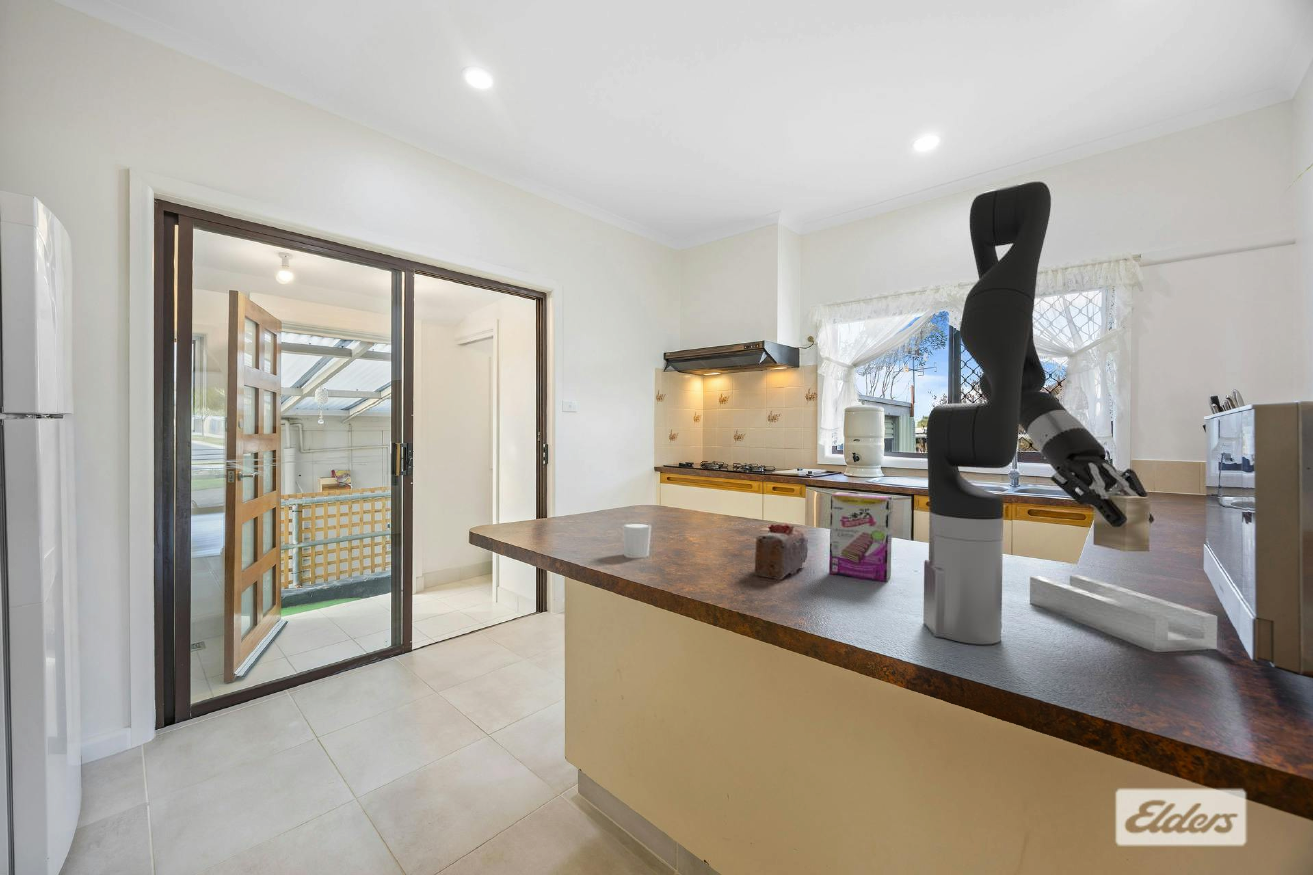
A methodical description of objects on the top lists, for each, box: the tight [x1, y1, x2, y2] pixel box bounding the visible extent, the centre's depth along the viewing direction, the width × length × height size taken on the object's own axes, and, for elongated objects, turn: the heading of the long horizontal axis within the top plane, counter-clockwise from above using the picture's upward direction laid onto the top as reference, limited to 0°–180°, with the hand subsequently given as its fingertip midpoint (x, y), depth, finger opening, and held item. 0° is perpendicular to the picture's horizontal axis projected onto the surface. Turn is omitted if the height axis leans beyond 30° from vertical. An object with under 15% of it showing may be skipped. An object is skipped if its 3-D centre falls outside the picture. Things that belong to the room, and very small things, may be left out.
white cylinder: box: [621, 522, 652, 559], centre depth 121 cm, size 7×7×7 cm
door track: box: [1029, 574, 1218, 653], centre depth 80 cm, size 10×20×4 cm, turn 7°
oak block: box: [1092, 494, 1151, 553], centre depth 80 cm, size 4×5×8 cm
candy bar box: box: [828, 491, 894, 583], centre depth 105 cm, size 11×5×16 cm, turn 58°
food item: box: [754, 524, 809, 581], centre depth 108 cm, size 14×8×10 cm, turn 148°
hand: (1134, 523), depth 78 cm, fingers closed on oak block, 4 cm apart
